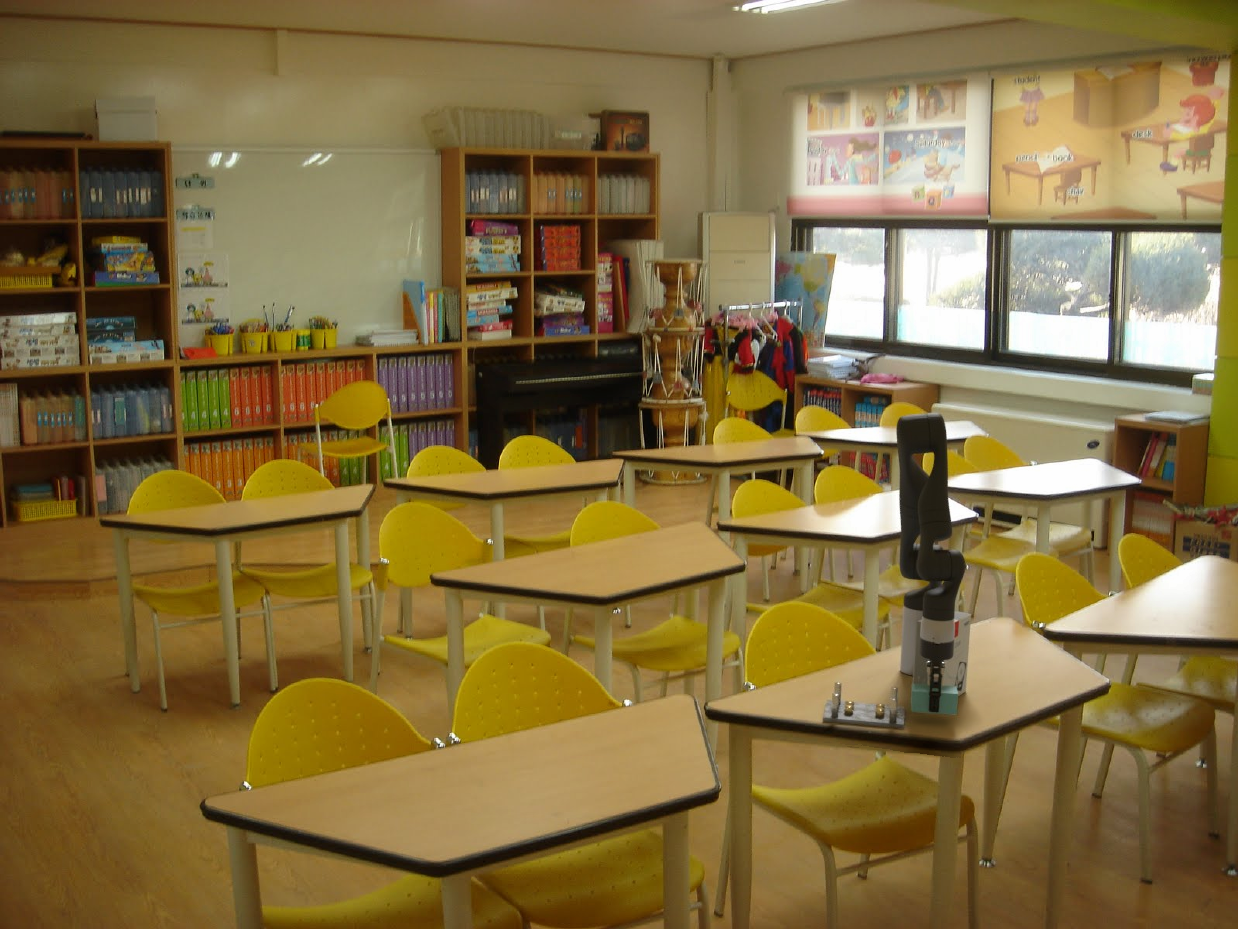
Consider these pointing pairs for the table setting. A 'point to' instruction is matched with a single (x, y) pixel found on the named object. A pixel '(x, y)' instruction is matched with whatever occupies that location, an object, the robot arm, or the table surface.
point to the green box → (945, 703)
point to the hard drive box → (953, 666)
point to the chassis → (864, 711)
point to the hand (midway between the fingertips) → (933, 706)
